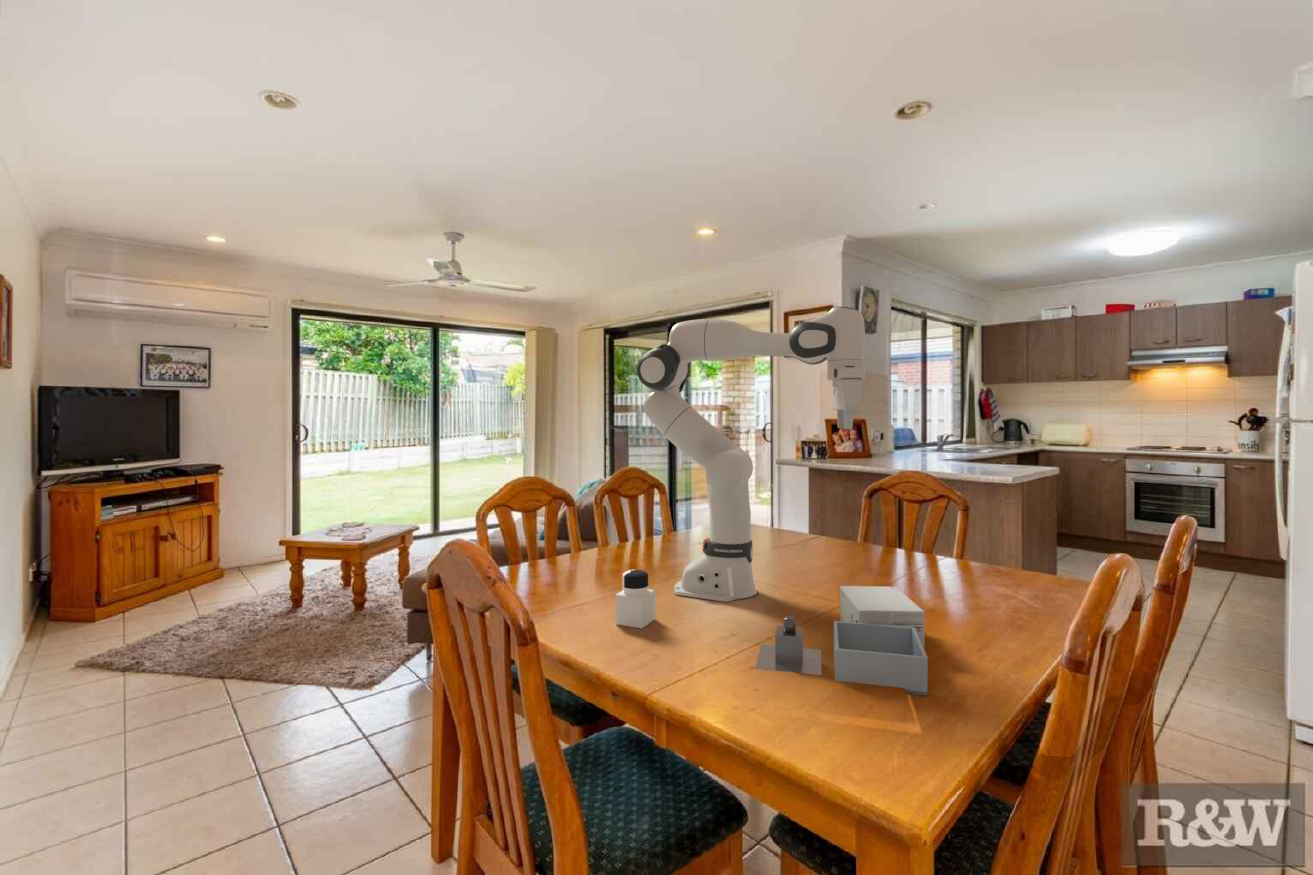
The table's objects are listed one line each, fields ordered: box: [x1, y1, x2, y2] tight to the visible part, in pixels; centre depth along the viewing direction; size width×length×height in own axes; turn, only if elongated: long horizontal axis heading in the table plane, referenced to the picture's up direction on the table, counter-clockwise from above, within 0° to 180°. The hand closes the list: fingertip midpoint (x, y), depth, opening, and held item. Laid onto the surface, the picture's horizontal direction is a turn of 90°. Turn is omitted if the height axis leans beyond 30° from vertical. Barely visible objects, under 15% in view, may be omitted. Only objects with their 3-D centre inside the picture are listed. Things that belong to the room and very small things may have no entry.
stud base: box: [754, 643, 822, 676], centre depth 117 cm, size 12×12×4 cm
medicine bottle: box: [614, 569, 656, 629], centre depth 141 cm, size 7×7×12 cm
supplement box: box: [839, 585, 926, 649], centre depth 130 cm, size 17×13×9 cm
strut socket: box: [774, 615, 804, 665], centre depth 117 cm, size 5×5×8 cm
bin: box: [833, 620, 929, 697], centre depth 113 cm, size 15×15×7 cm
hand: (844, 428), depth 150 cm, fingers open, 8 cm apart
